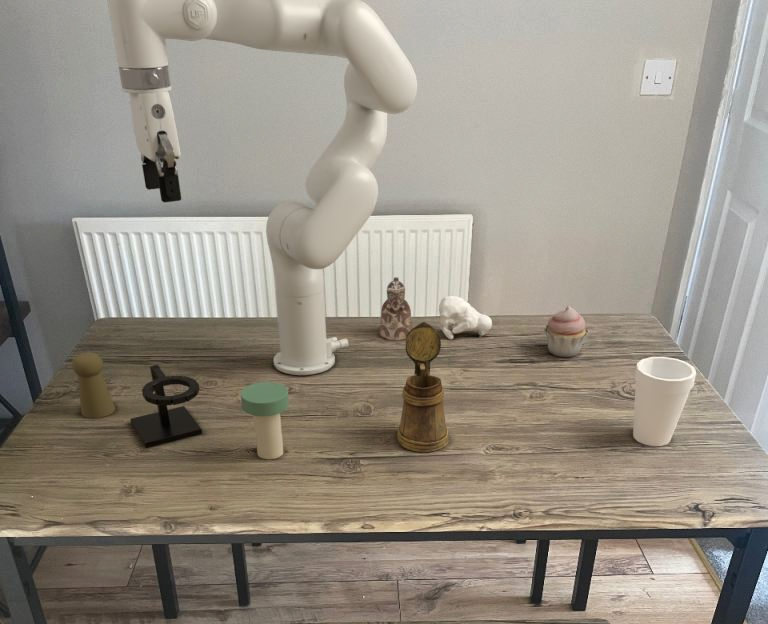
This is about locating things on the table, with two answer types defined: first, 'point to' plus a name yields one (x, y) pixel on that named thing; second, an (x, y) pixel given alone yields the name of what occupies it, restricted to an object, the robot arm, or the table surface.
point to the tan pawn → (92, 386)
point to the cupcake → (565, 333)
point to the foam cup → (660, 398)
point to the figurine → (395, 313)
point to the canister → (266, 415)
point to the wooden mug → (423, 395)
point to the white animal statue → (461, 317)
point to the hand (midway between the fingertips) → (163, 194)
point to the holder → (166, 411)
